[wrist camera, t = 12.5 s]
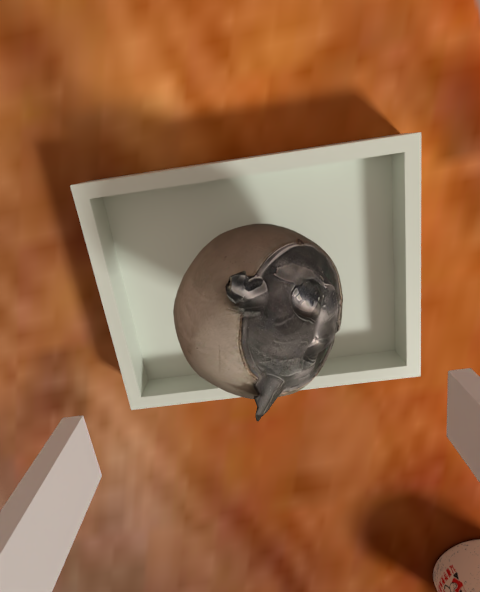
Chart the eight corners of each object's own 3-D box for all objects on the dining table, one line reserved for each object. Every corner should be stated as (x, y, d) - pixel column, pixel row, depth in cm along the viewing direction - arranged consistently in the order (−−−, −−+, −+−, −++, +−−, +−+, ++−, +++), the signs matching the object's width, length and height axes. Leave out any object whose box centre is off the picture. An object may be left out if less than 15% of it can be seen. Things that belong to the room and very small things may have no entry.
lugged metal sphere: (349, 296, 32) (280, 177, 29) (409, 384, 21) (307, 206, 18) (237, 359, 34) (161, 254, 31) (236, 470, 23) (117, 323, 19)
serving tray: (141, 385, 36) (131, 409, 32) (89, 180, 30) (69, 185, 27) (403, 353, 34) (420, 376, 31) (400, 133, 29) (421, 132, 25)
